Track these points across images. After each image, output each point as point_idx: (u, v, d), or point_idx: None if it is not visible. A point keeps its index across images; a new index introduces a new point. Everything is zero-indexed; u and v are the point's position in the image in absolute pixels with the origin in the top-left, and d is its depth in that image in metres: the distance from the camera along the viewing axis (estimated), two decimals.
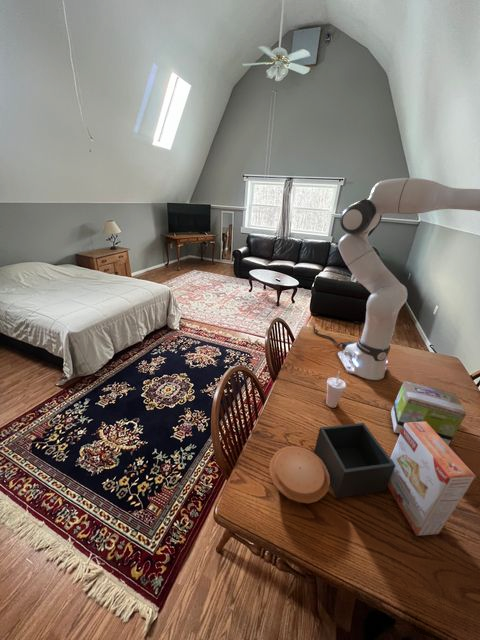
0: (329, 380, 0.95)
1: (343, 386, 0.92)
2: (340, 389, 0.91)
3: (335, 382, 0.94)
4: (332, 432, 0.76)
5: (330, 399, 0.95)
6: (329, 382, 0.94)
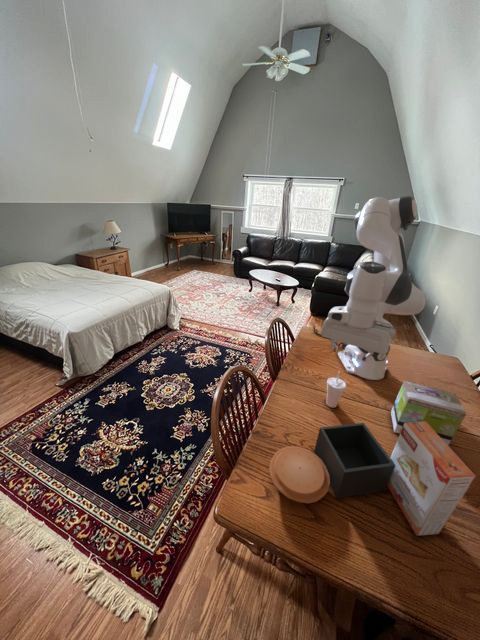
0: (329, 380, 0.95)
1: (343, 386, 0.92)
2: (340, 389, 0.91)
3: (335, 382, 0.94)
4: (332, 432, 0.76)
5: (330, 399, 0.95)
6: (329, 382, 0.94)
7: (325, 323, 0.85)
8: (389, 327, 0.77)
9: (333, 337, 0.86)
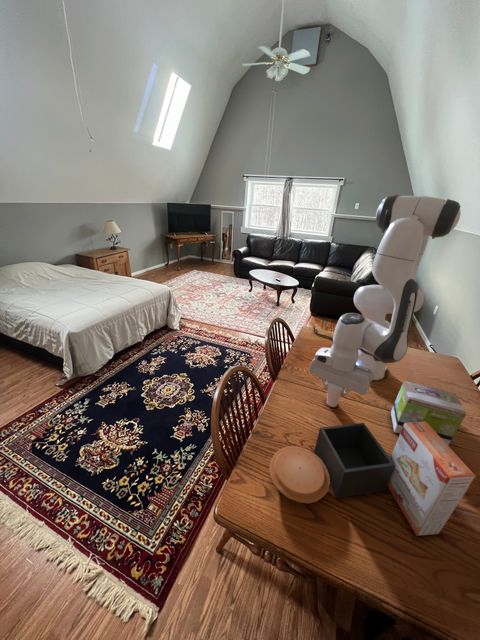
0: None
1: None
2: (340, 388, 0.91)
3: None
4: (332, 432, 0.76)
5: (331, 399, 0.95)
6: None
7: (312, 363, 0.94)
8: (368, 372, 0.86)
9: (319, 375, 0.95)
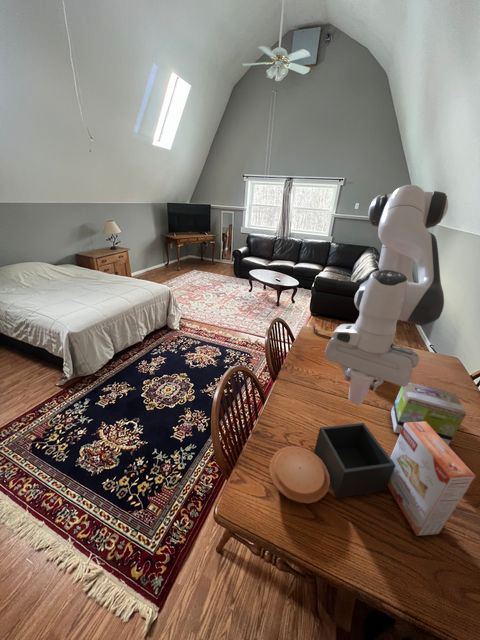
0: None
1: None
2: (370, 378, 0.66)
3: None
4: (332, 432, 0.76)
5: (355, 393, 0.70)
6: None
7: (329, 345, 0.70)
8: (410, 353, 0.61)
9: (339, 361, 0.70)
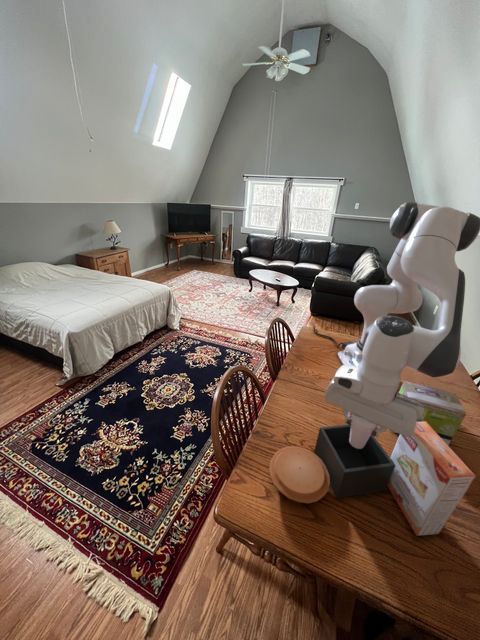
0: None
1: None
2: (372, 425, 0.63)
3: None
4: (332, 432, 0.76)
5: (357, 438, 0.67)
6: (355, 414, 0.66)
7: (330, 388, 0.66)
8: (416, 404, 0.58)
9: (340, 405, 0.67)
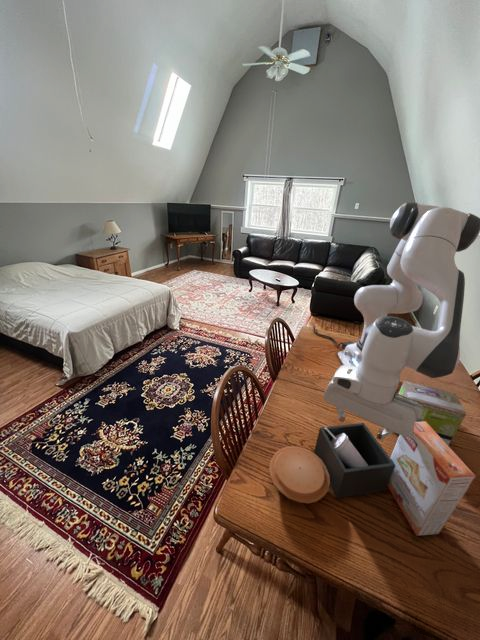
0: None
1: (342, 439, 0.71)
2: (340, 445, 0.70)
3: (334, 442, 0.73)
4: (332, 432, 0.76)
5: (350, 465, 0.71)
6: None
7: (329, 388, 0.67)
8: (415, 405, 0.58)
9: (339, 405, 0.67)
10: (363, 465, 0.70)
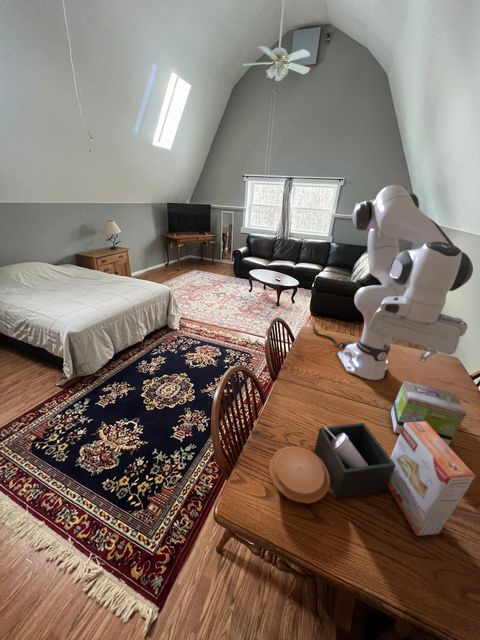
0: None
1: (342, 439, 0.71)
2: (340, 445, 0.70)
3: (334, 442, 0.73)
4: (332, 432, 0.76)
5: (350, 465, 0.71)
6: None
7: (375, 316, 0.73)
8: (459, 322, 0.64)
9: (385, 332, 0.73)
10: (363, 465, 0.70)
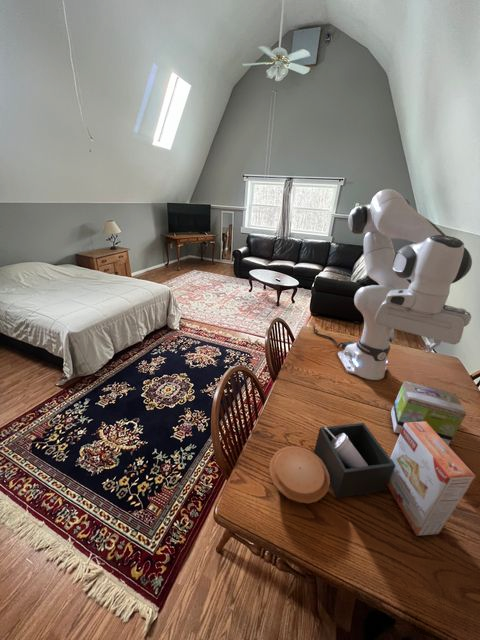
0: None
1: (342, 439, 0.71)
2: (340, 445, 0.70)
3: (334, 442, 0.73)
4: (332, 432, 0.76)
5: (350, 465, 0.71)
6: None
7: (381, 309, 0.75)
8: (463, 312, 0.66)
9: (390, 325, 0.75)
10: (363, 465, 0.70)
